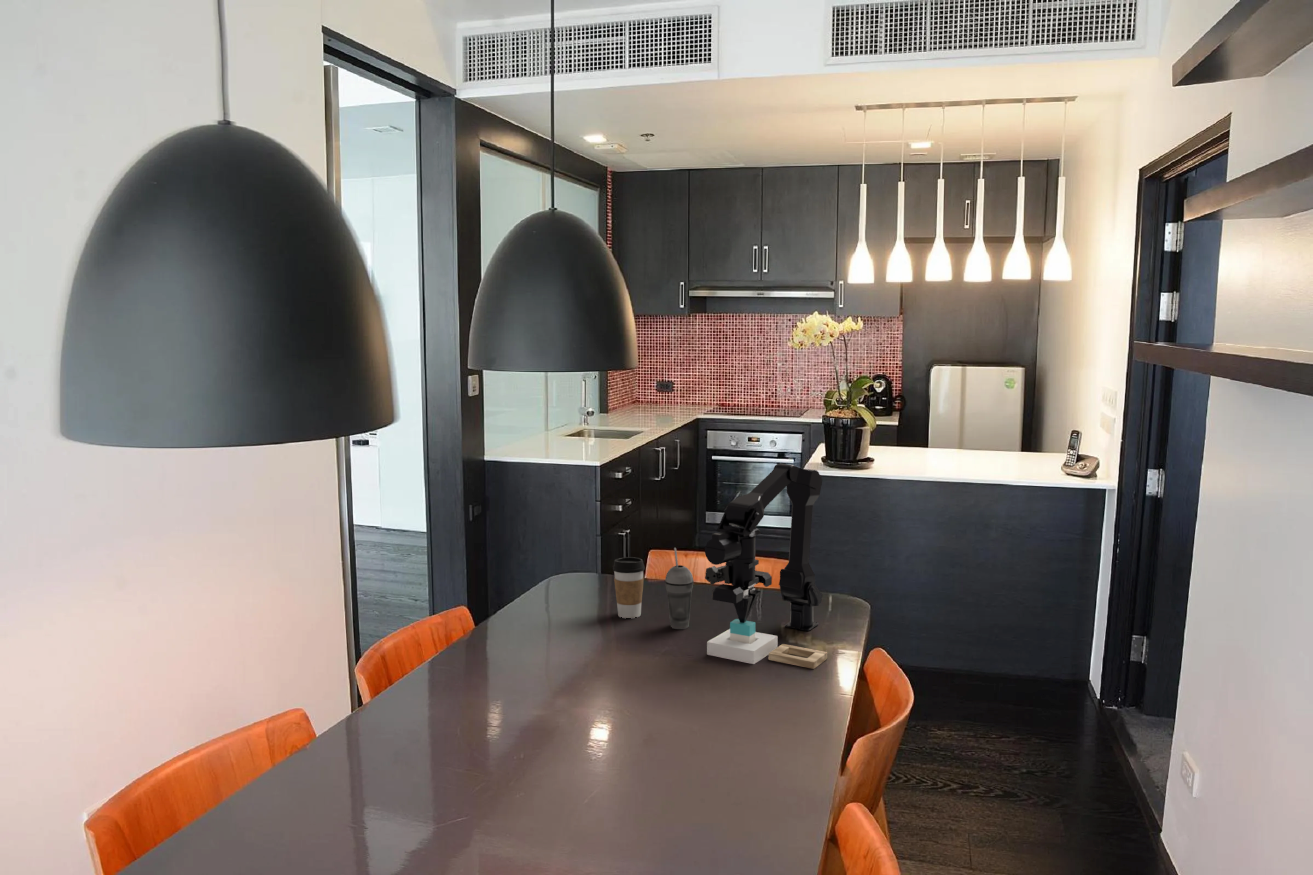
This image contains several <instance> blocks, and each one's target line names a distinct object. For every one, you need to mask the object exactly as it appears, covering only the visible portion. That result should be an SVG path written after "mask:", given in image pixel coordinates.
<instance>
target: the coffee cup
mask: <svg viewBox="0 0 1313 875" xmlns="http://www.w3.org/2000/svg"><path fill="white" fill-rule="evenodd" d="M645 570H646V568H645V564H644V560H643V559H642V558H640V557H633V556H626V557H619V558H615V559H614V562H613V566H612V571H613V572H614V578H613V581H614V590H615V598H616V606H617V615H618V617H619V618H621V617H622V618H621V619H626V618H631V619H636V618H635V617H637V618H639V617H640V616H642V615H641V614H642V602H643V601H642V600H643V593H644V592H643V590H644V581H645V580H644V579H645V578H644V571H645Z"/></svg>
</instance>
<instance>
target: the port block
mask: <svg viewBox="0 0 1313 875" xmlns="http://www.w3.org/2000/svg"><path fill="white" fill-rule="evenodd" d="M778 639H779V638H778V635H773V634H769V633H763V632H757V631H755V642H753V643H752V644H747V643H742V642H737V641H732V640H730V628H729V629H727V630H726V631H723V632H722V633H720V634H718V635H717V636H715V637H713V638H711V639H709V640H708V641H707V642H706V655H708V656H712V657H718V658H722V659H728V660H731V661H737V662H742V663H745V664H750V665H755V664H756V663H758V662H760V661H761V660H763V659H764V658H765V657H767V656H769V653H770V652H771V651H773V650H774V649H776V648H777V647H778V643H779V642H778Z"/></svg>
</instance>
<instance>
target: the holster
mask: <svg viewBox="0 0 1313 875" xmlns="http://www.w3.org/2000/svg"><path fill="white" fill-rule="evenodd" d="M827 659H828V652H827V651H822V650H816V649H811V648H805V647H803V646H802V647H801V646H796V645H792V644H785V643H782V644H781V645H779V646H777V648H776V649H774V650H773V651H771V652H770V653H769V655H768V660H769V661H773V662H777V663H782V664H788V665H794V666H798V667H803V668H808V669H812V670H813V669H814V670H815V669H816V668H818V666H820V665H821V664H823V663H824V662H825V661H826V660H827Z"/></svg>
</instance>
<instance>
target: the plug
mask: <svg viewBox="0 0 1313 875" xmlns="http://www.w3.org/2000/svg"><path fill="white" fill-rule="evenodd" d="M729 629H730V640H732V641H737V642H742V643H747V644H752V643H753V642H755V632H756V622H755V621H750V620H746V622H745V623H740V621H739V618H735V619H733V620H732V621H730V622H729Z"/></svg>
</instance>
